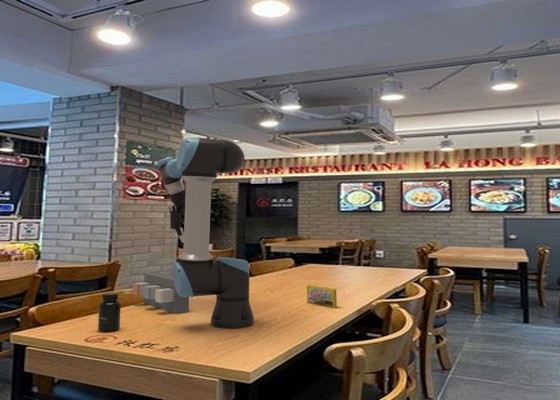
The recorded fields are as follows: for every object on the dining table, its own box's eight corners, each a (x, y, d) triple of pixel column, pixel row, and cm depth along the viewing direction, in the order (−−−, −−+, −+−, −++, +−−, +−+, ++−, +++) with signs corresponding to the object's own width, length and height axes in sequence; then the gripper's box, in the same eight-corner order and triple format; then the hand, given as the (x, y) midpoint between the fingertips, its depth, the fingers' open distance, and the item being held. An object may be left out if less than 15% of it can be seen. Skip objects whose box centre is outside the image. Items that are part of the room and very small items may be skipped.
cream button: (160, 303, 174) (160, 290, 174) (155, 301, 177) (155, 289, 178) (179, 300, 179) (179, 289, 179) (173, 299, 183) (174, 287, 183)
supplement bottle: (96, 333, 146) (97, 295, 147) (99, 328, 153) (100, 292, 153) (119, 331, 148) (120, 294, 149) (120, 327, 155) (121, 291, 155)
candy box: (306, 303, 201) (306, 284, 201) (309, 303, 202) (309, 284, 203) (333, 309, 189) (333, 289, 189) (337, 308, 190) (337, 288, 191)
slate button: (148, 299, 182) (148, 287, 182) (143, 297, 186) (143, 286, 186) (166, 297, 187) (166, 285, 188) (161, 295, 191) (161, 284, 191)
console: (175, 314, 176) (175, 280, 177) (143, 303, 198) (144, 273, 199) (188, 312, 180) (189, 279, 181) (156, 301, 202) (157, 272, 203)
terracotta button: (137, 295, 191) (137, 284, 191) (132, 294, 194) (133, 283, 194) (155, 293, 196) (155, 282, 196) (150, 292, 199) (150, 281, 200)
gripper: (189, 186, 212) (205, 228, 214) (151, 202, 191) (169, 248, 194) (201, 182, 208) (217, 225, 210) (162, 198, 187) (181, 245, 190)
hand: (194, 236), depth 202 cm, fingers open, 13 cm apart
